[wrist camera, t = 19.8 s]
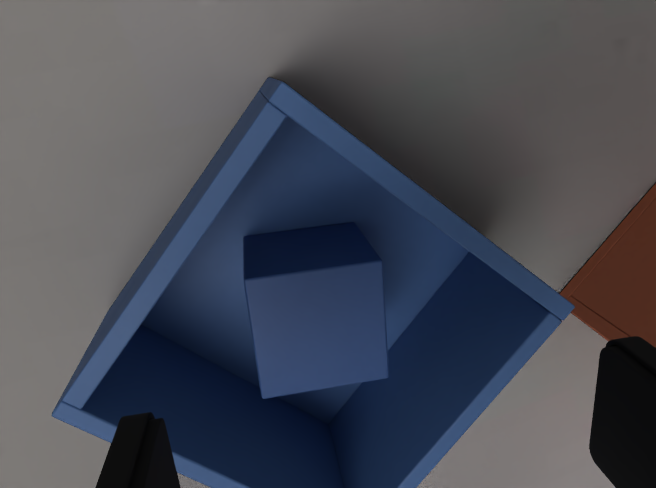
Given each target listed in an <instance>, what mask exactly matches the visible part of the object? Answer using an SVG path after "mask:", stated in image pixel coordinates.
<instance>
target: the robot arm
mask: <svg viewBox="0 0 656 488" xmlns="http://www.w3.org/2000/svg"><path fill="white" fill-rule="evenodd" d="M589 449H590V453H591V456H592V458H593V460H594V462H595V463H596V465H597V466H598V467H599V468H600V470H601V471H602V472H603V473H604V474H605V475H606V477H607V478H608V479H609V480H610V481H611V483H612V484H613V485H614V486H615V487H616V488H656V348H655V347H654V346H652V345H651V344H650V343H648V342H647V341H645V340H644V339H643V338H641V337H639V336H632V337H626V338H619V339H613V340H610V341H609V342H608V343H607V344H606V348H603V349H602V350H601V353H600V359H599V367H598V376H597V384H596V393H595V401H594V410H593V418H592V427H591V435H590V444H589ZM96 488H180V484H179V479H178V475H177V471H176V467H175V463H174V458H173V454H172V450H171V446H170V442H169V437H168V433H167V429H166V425H165V421H164V419H163V418H157V419H155V417H154V415H153V413H152V412H147V413H141V414H135V415H128V416H123V417H121V419H120V421H119V423H118V426H117V429H116V432H115V434H114V437H113V440H112V443H111V446H110V449H109V451H108V454H107V457H106V460H105V463H104V465H103V468H102V471H101V474H100V477H99V479H98V482H97V485H96Z"/></svg>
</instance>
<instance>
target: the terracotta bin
mask: <svg viewBox="0 0 656 488" xmlns="http://www.w3.org/2000/svg"><path fill="white" fill-rule="evenodd" d="M560 295H561V296H563V297H564V298H565V299H567V300H568V301H569V302H571V303H572V304H573V305H574V306H575V308H574V309H573V310H572V311H571V313H572V314H573V315H574V316H576V317H577V318H578V319H580V320H581V321H582V322H584V323H585V324H586V325H588V326H589V327H590V328H592V329H593V330H594V331H596V332H597V333H598V334H599V335H601V336H602V337H603V338H605V339H606V340H607V341H610V340H613V339H619V338H626V337H632V336H639V337H641V338H643V339H644V340H645V341H647V342H648V343H650V344H651V345H652V346H654V347H655V348H656V183H655V185H654V186H653V187H652V188H651V189H650V190H649V191H648V193H647V194H646V195H645V196H644V197H643V198H642V200H641V201H640V202H639V203H638V204H637V205H636V206H635V208H634V209H633V210H632V211H631V212H630V213H629V214H628V216H627V217H626V218H625V219H624V220H623V221H622V223H621V224H620V225H619V226H618V227H617V228H616V229H615V231H614V232H613V233H612V234H611V235H610V236H609V237H608V239H607V240H606V241H605V242H604V243H603V244H602V246H601V247H600V248H599V249H598V250H597V251H596V252H595V254H594V255H593V256H592V257H591V258H590V259H589V260H588V262H587V263H586V264H585V265H584V266H583V267H582V269H581V270H580V271H579V272H578V273H577V274H576V275H575V277H574V278H573V279H572V280H571V281H570V282H569V284H568V285H567V286H566V287H565V288H564V289H563V290H562V292H561V293H560Z"/></svg>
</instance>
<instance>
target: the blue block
mask: <svg viewBox="0 0 656 488" xmlns="http://www.w3.org/2000/svg"><path fill="white" fill-rule="evenodd" d="M243 281H244V288H245V294H246V301H247V307H248V314H249V321H250V327H251V334H252V340H253V347H254V353H255V360H256V366H257V373H258V379H259V386H260V392H261V397H262V399H267V398H273V397H279V396H285V395H291V394H297V393H303V392H309V391H315V390H321V389H327V388H333V387H339V386H344V385H350V384H356V383H362V382H368V381H374V380H380V379H386V378H388V377H389V367H388V348H387V330H386V312H385V293H384V275H383V261H382V259H381V258H380V257H379V255H378V254H377V253H376V251H375V250H374V248H373V247H372V246H371V244H370V243H369V242H368V240H367V239H366V237H365V236H364V235H363V233H362V232H361V231H360V229H359V228H358V226H357V225H356V224H355V223H354V222H350V223H343V224H335V225H327V226H320V227H312V228H304V229H296V230H289V231H281V232H273V233H266V234H258V235H250V236H245V237H243Z"/></svg>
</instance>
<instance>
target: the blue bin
mask: <svg viewBox="0 0 656 488" xmlns="http://www.w3.org/2000/svg"><path fill="white" fill-rule="evenodd" d="M350 222H354V223H355V224H356V225H357V226H358V228H359V229H360V231H361V232H362V233H363V235H364V236H365V237H366V239H367V240H368V242H369V243H370V244H371V246H372V247H373V248H374V250H375V251H376V253H377V254H378V255H379V257H380V258H381V259H382V261H383V275H384V293H385V312H386V330H387V348H388V367H389V377H388V378H386V379H380V380H374V381H368V382H362V383H356V384H350V385H344V386H339V387H333V388H327V389H321V390H315V391H309V392H303V393H297V394H291V395H285V396H279V397H273V398H267V399H262V397H261V392H260V386H259V379H258V373H257V366H256V360H255V353H254V347H253V340H252V334H251V327H250V321H249V314H248V307H247V301H246V294H245V288H244V281H243V237H245V236H250V235H258V234H266V233H273V232H281V231H289V230H296V229H304V228H312V227H320V226H327V225H335V224H343V223H350ZM574 308H575V306H574V305H573V304H572V303H571V302H569V301H568V300H567V299H565V298H564V297H563V296H561V295H560V294H559V293H558V292H556V291H555V290H554V289H552V288H551V287H550V286H548V285H547V284H546V283H545V282H543V281H542V280H541V279H539V278H538V277H537V276H535V275H534V274H533V273H532V272H530V271H529V270H528V269H526V268H525V267H524V266H522V265H521V264H520V263H519V262H517V261H516V260H515V259H513V258H512V257H511V256H509V255H508V254H507V253H506V252H504V251H503V250H502V249H500V248H499V247H498V246H496V245H495V244H494V243H493V242H491V241H490V240H489V239H487V238H486V237H485V236H483V235H482V234H481V233H480V232H478V231H477V230H476V229H474V228H473V227H472V226H470V225H469V224H468V223H467V222H465V221H464V220H463V219H461V218H460V217H459V216H457V215H456V214H455V213H453V212H452V211H451V210H450V209H448V208H447V207H446V206H444V205H443V204H442V203H440V202H439V201H438V200H437V199H435V198H434V197H433V196H431V195H430V194H429V193H427V192H426V191H425V190H424V189H422V188H421V187H420V186H418V185H417V184H416V183H414V182H413V181H412V180H411V179H409V178H408V177H407V176H405V175H404V174H403V173H401V172H400V171H399V170H398V169H396V168H395V167H394V166H392V165H391V164H390V163H388V162H387V161H386V160H385V159H383V158H382V157H381V156H379V155H378V154H377V153H375V152H374V151H373V150H372V149H370V148H369V147H368V146H366V145H365V144H364V143H362V142H361V141H360V140H359V139H357V138H356V137H355V136H353V135H352V134H351V133H349V132H348V131H347V130H346V129H344V128H343V127H342V126H340V125H339V124H338V123H336V122H335V121H334V120H333V119H331V118H330V117H329V116H327V115H326V114H325V113H323V112H322V111H321V110H320V109H318V108H317V107H316V106H314V105H313V104H312V103H310V102H309V101H308V100H307V99H305V98H304V97H303V96H301V95H300V94H299V93H297V92H296V91H295V90H294V89H292V88H291V87H290V86H288V85H287V84H286V83H284V82H282V81H279V80H276V79H274V78H271V77H268V78H267V80H266V81H265V82H264V84H263V85H262V87H261V88H260V90H259V91H258V93H257V94H256V96H255V97H254V99H253V100H252V101H251V103H250V104H249V106H248V107H247V109H246V110H245V112H244V113H243V115H242V116H241V118H240V119H239V120H238V122H237V123H236V125H235V126H234V128H233V129H232V131H231V132H230V134H229V135H228V137H227V138H226V139H225V141H224V142H223V144H222V145H221V147H220V148H219V150H218V151H217V153H216V154H215V156H214V157H213V158H212V160H211V161H210V163H209V164H208V166H207V167H206V169H205V170H204V172H203V173H202V175H201V176H200V177H199V179H198V180H197V182H196V183H195V185H194V186H193V188H192V189H191V191H190V192H189V194H188V195H187V196H186V198H185V199H184V201H183V202H182V204H181V205H180V207H179V208H178V210H177V211H176V213H175V214H174V215H173V217H172V218H171V220H170V221H169V223H168V224H167V226H166V227H165V229H164V230H163V232H162V233H161V234H160V236H159V237H158V239H157V240H156V242H155V243H154V245H153V246H152V248H151V249H150V251H149V252H148V253H147V255H146V256H145V258H144V259H143V261H142V262H141V264H140V265H139V267H138V268H137V270H136V271H135V272H134V274H133V275H132V277H131V278H130V280H129V281H128V283H127V284H126V286H125V287H124V289H123V290H122V291H121V293H120V294H119V296H118V297H117V299H116V300H115V302H114V303H113V305H112V306H111V308H110V309H109V310H108V312H107V314H106V316H105V318H104V319H103V321H102V323H101V325H100V326H99V328H98V330H97V332H96V334H95V336H94V337H93V339H92V341H91V343H90V345H89V347H88V348H87V350H86V352H85V354H84V356H83V358H82V359H81V361H80V363H79V365H78V367H77V369H76V370H75V372H74V374H73V376H72V378H71V379H70V381H69V383H68V385H67V387H66V389H65V390H64V392H63V394H62V396H61V398H60V400H59V401H58V403H57V405H56V407H55V409H54V411H53V412H52V416H53V417H54V418H57V419H59V420H61V421H63V422H66V423H68V424H70V425H72V426H74V427H77V428H79V429H81V430H83V431H86V432H88V433H90V434H92V435H95V436H97V437H99V438H101V439H104V440H106V441H108V442H110V443H112V440H113V437H114V434H115V432H116V429H117V426H118V423H119V421H120V419H121V417H123V416H128V415H135V414H141V413H147V412H152V413H153V415H154V417H155V419H157V418H163V419H164V421H165V425H166V429H167V433H168V437H169V442H170V446H171V450H172V454H173V458H174V463H175V467H176V471H177V473H180V474H182V475H184V476H186V477H189V478H191V479H193V480H195V481H198V482H200V483H202V484H204V485H207V486H209V487H211V488H416V487H417V486H418V485H419V484H420V483H421V481H422V480H423V479H424V478H425V477H426V476H427V475H428V473H429V472H430V471H431V470H432V469H433V468H434V467H435V466H436V464H437V463H438V462H439V461H440V460H441V459H442V458H443V456H444V455H445V454H446V453H447V452H448V451H449V450H450V449H451V447H452V446H453V445H454V444H455V443H456V442H457V441H458V439H459V438H460V437H461V436H462V435H463V434H464V433H465V431H466V430H467V429H468V428H469V427H470V426H471V425H472V424H473V422H474V421H475V420H476V419H477V418H478V417H479V416H480V414H481V413H482V412H483V411H484V410H485V409H486V408H487V406H488V405H489V404H490V403H491V402H492V401H493V400H494V399H495V397H496V396H497V395H498V394H499V393H500V392H501V391H502V389H503V388H504V387H505V386H506V385H507V384H508V383H509V382H510V380H511V379H512V378H513V377H514V376H515V375H516V374H517V372H518V371H519V370H520V369H521V368H522V367H523V366H524V364H525V363H526V362H527V361H528V360H529V359H530V358H531V357H532V355H533V354H534V353H535V352H536V351H537V350H538V349H539V347H540V346H541V345H542V344H543V343H544V342H545V341H546V339H547V338H548V337H549V336H550V335H551V334H552V333H553V332H554V330H555V329H556V328H557V327H558V326H559V325H560V324H561V322H562V321H561V320H564V319H565V318H566V317H567V316H568V315H569V314H570V313H571V311H572V310H573V309H574Z"/></svg>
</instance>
